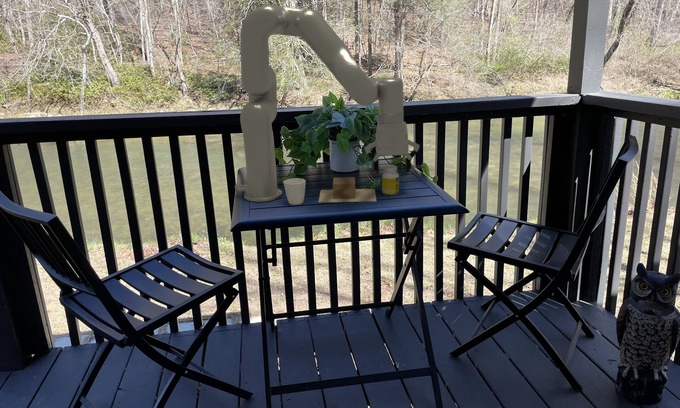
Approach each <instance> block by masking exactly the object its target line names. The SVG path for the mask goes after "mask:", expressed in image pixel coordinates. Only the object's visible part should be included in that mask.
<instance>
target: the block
mask: <svg viewBox="0 0 680 408" xmlns="http://www.w3.org/2000/svg"><path fill="white" fill-rule="evenodd" d="M332 180H333V181H332V190H333V199H355V189H356V177H352V176H351V177H349V176H346V177H333V179H332Z"/></svg>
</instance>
